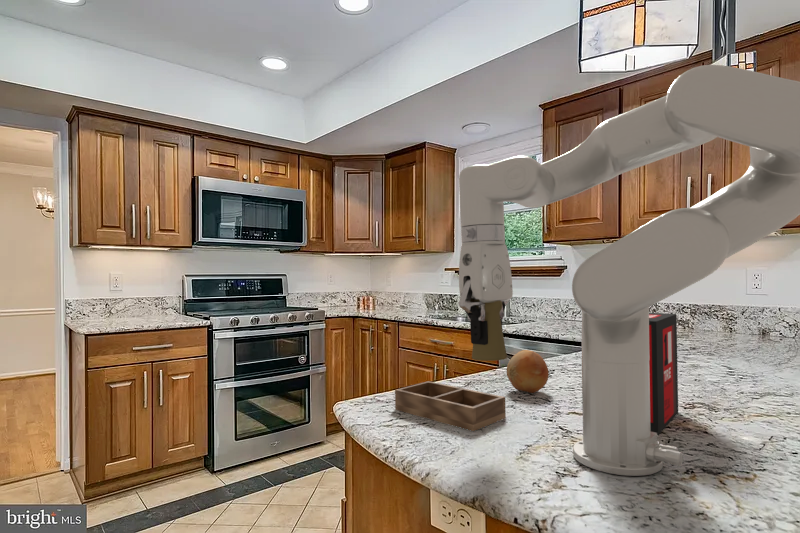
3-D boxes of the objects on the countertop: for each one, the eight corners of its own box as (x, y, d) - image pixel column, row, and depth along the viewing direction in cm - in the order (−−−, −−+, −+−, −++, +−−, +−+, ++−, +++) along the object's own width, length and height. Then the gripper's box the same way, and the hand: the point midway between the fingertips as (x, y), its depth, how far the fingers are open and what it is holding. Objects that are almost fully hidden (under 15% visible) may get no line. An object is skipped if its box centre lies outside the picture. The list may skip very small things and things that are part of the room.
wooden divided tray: (505, 418, 95) (505, 397, 95) (473, 431, 88) (473, 408, 88) (428, 399, 110) (428, 381, 110) (395, 409, 102) (395, 389, 102)
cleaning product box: (658, 435, 84) (656, 321, 85) (605, 425, 90) (604, 318, 90) (678, 413, 97) (676, 314, 97) (631, 405, 103) (629, 312, 103)
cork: (507, 360, 80) (504, 294, 80) (470, 360, 81) (467, 295, 81) (507, 354, 86) (504, 293, 86) (472, 354, 87) (470, 294, 87)
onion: (498, 392, 115) (497, 350, 115) (522, 385, 122) (521, 345, 122) (533, 400, 108) (532, 355, 108) (556, 392, 114) (556, 350, 115)
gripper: (471, 233, 75) (476, 350, 75) (526, 237, 87) (531, 338, 87) (435, 237, 81) (439, 347, 80) (492, 240, 92) (495, 335, 92)
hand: (487, 341), depth 84 cm, fingers closed on cork, 3 cm apart
